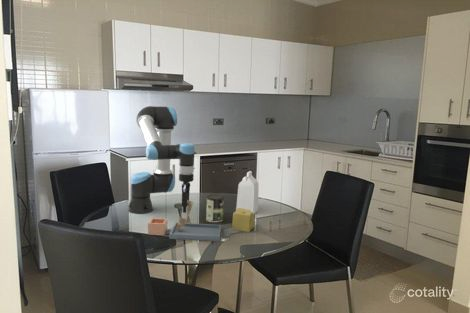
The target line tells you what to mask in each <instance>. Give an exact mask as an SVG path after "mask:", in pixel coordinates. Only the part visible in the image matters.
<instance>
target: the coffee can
mask: <svg viewBox="0 0 470 313" xmlns="http://www.w3.org/2000/svg"><path fill="white" fill-rule="evenodd" d="M224 201H225V196H224V195H221V194H207V195H206V213H205V214H206V215H205V220H206V221H207V222H210V223H221V222H222V221H224Z"/></svg>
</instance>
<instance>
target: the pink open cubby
mask: <svg viewBox="0 0 470 313" xmlns="http://www.w3.org/2000/svg"><path fill="white" fill-rule="evenodd" d="M168 220H169V219H168V218H160V217H159V218H157V217H151V218H150V220H149V221H148V223H147V235H151V236H153V235H155V236H157V235H159V236H165V235H166V233H167V231H168V224H169V223H168V222H169V221H168Z"/></svg>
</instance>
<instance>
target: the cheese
mask: <svg viewBox="0 0 470 313" xmlns="http://www.w3.org/2000/svg"><path fill="white" fill-rule="evenodd" d="M255 215H256V214H253V212H251V211H250V210H246V209H242V208H238V209H237V210H236V209H235V211H234V212H233V213H232V228H231V229H232V230H234V231H238V232H244V233H245V232H246V233H250V231H252V229H254V228H255V225H256V222H255V218H256V216H255Z"/></svg>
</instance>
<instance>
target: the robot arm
mask: <svg viewBox="0 0 470 313" xmlns="http://www.w3.org/2000/svg"><path fill="white" fill-rule="evenodd" d="M177 114H178V113H177V111H176V110H175V108H174V107H173V106H172V107H171V106H155V105H154V106H152V105H151V106H149V105H148V106H145V107H144V108H142V109H141V110H140V111H138V113H137V115H136V124H137V127H138V128H139V129H140V130H141V131H142V135H143V138H144V141H145V143H146V147H145V157H146V159H147V160H153V161H155V165H156V166H155V167H156V168H155V169H154V171H153V174H151V173H150V172H148V171H146V172H145V171H143V172H136V173H134V174H132V176H131V178H130V200H129V203H128V207H127V211H128V213H132V214H136V215H137V214H138V215H139V214H148V213H151V212H152V211H153V210H154V206H153V202H152V199H151V194H161V193H164V194H165V193H171V192H173V190H174V188H175V187H176V186H175V185H176V176H175V174H174V173H173V171H172V169H171V160H179V163H178V165H179V166H178V173H179V174H178V180H179V182H181V183H182V184H181V204H180V207H181V214H182V218H187V209H188V206H187V200H189V201H190V190H191V189H190V188H191V182H194V177H195V174H194V172H195V169H196V167H195V151H196V150H195V144H193V143H190V142H189V143H188V142H183V143H182V142H181V143H176V144H171V143H172V131H174V129H175V126H177V125H178V115H177ZM187 219H188V218H187Z"/></svg>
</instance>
